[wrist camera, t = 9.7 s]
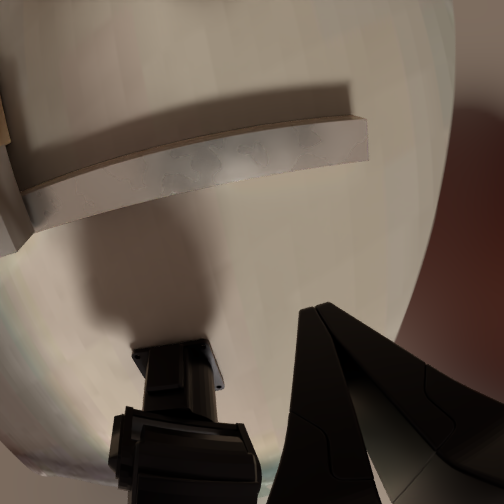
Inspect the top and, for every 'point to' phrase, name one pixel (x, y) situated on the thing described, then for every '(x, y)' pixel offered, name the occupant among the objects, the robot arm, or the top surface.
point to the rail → (197, 166)
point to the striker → (10, 201)
